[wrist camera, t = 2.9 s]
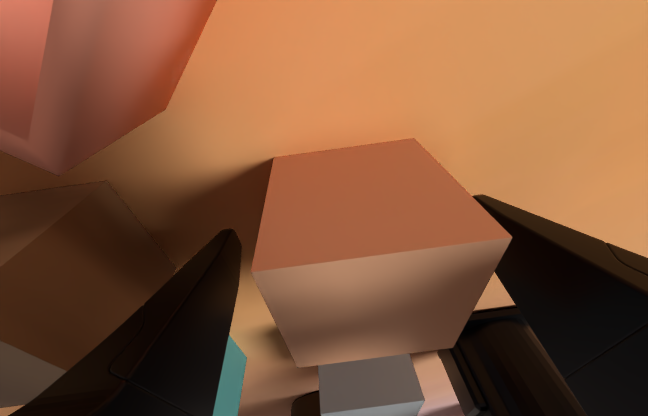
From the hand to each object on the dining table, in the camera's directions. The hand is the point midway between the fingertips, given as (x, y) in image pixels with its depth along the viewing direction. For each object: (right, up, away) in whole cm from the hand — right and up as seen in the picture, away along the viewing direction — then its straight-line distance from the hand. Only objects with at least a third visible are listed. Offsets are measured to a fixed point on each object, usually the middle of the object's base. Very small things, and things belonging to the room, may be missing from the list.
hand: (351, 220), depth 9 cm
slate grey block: (+1, -8, +8) cm, 11 cm away
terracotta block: (0, +1, +1) cm, 1 cm away
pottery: (-4, +12, -7) cm, 14 cm away
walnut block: (-11, -1, +1) cm, 11 cm away
